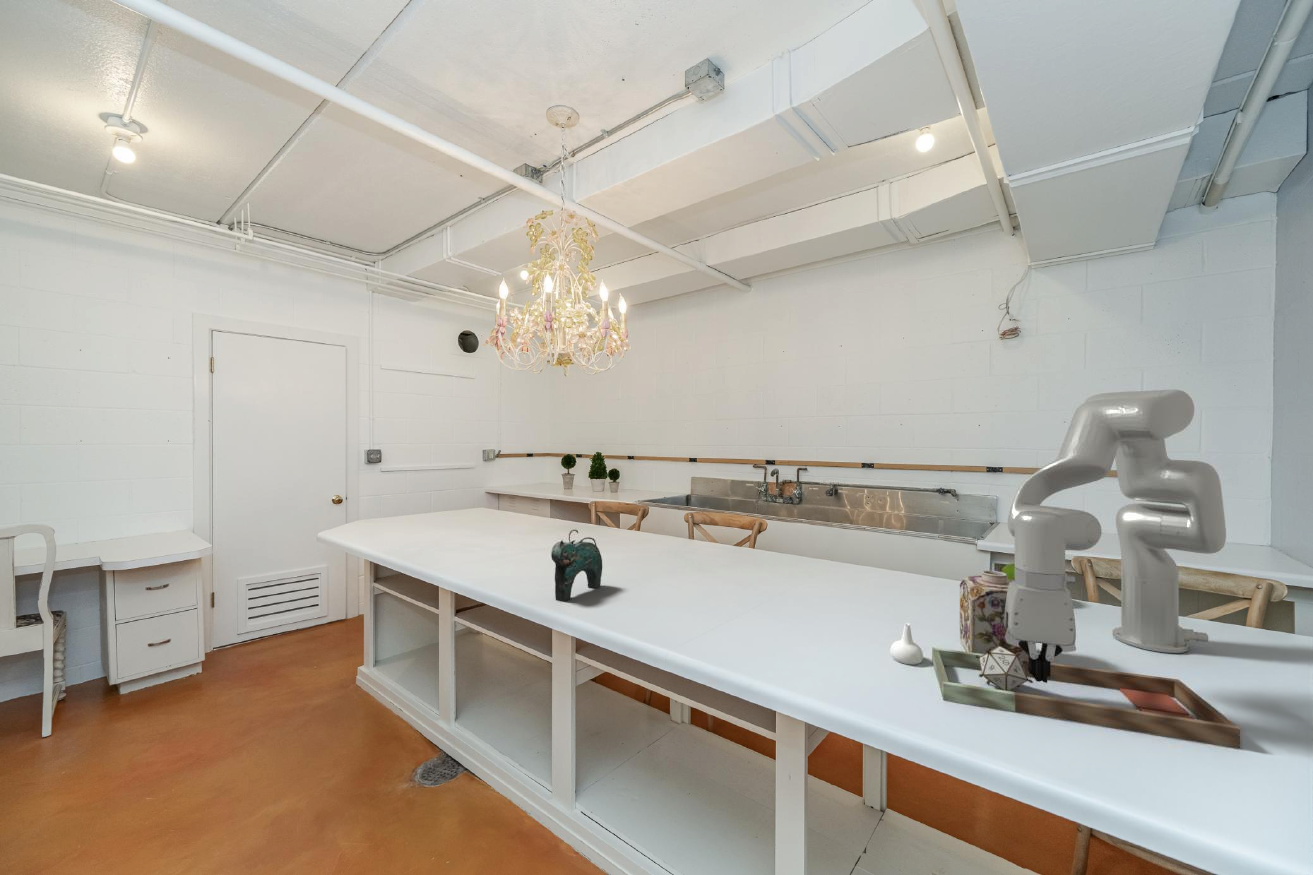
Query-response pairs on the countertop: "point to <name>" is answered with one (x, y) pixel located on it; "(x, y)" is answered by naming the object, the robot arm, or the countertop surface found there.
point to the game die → (1003, 668)
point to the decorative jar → (984, 613)
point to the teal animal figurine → (575, 565)
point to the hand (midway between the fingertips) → (1039, 678)
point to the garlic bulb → (906, 649)
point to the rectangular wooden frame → (1141, 690)
